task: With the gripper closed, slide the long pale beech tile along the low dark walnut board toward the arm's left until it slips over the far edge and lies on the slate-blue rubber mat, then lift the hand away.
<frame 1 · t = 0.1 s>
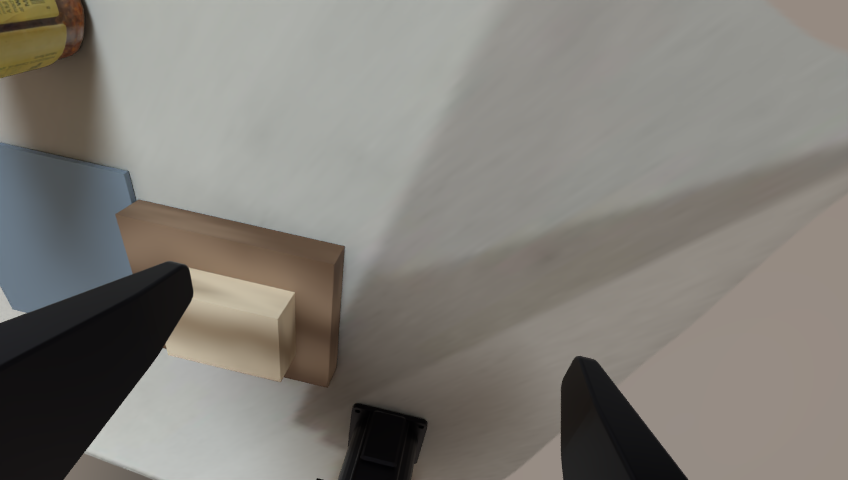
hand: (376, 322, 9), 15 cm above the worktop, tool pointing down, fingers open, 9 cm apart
sauce bottle: (40, 0, 22), on the worktop
beech tile: (229, 324, 28), point 3 cm above the worktop, touching walnut board
walnut board: (247, 291, 30), on the worktop
rubber mat: (64, 248, 31), on the worktop
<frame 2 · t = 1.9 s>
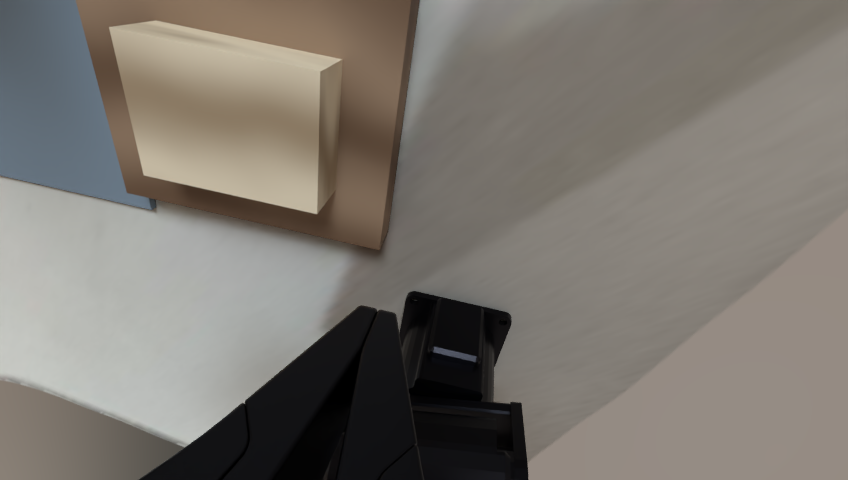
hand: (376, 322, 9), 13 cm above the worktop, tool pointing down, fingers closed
beech tile: (238, 119, 18), point 3 cm above the worktop, touching walnut board
walnut board: (263, 98, 21), on the worktop
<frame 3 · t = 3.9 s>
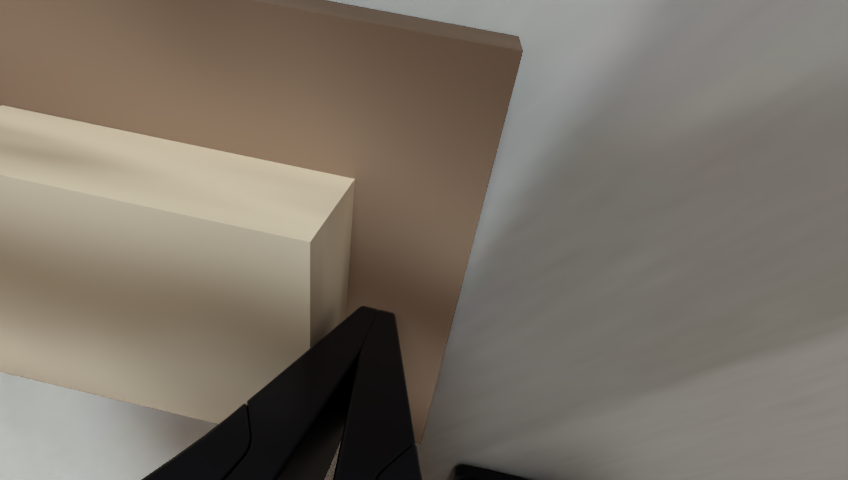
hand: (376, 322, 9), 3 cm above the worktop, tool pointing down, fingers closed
beech tile: (163, 283, 10), point 3 cm above the worktop, touching gripper
walnut board: (229, 213, 12), on the worktop
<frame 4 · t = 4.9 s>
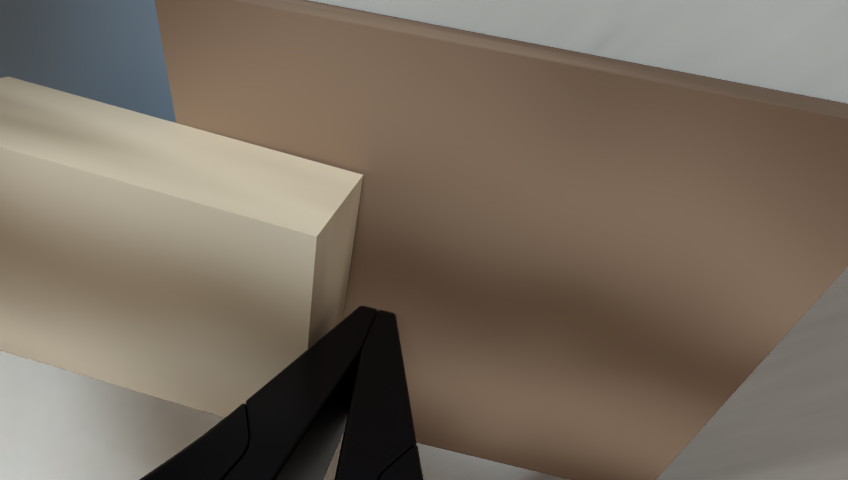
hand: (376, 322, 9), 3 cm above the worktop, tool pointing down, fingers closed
beech tile: (161, 267, 9), point 3 cm above the worktop, touching gripper
walnut board: (470, 266, 12), on the worktop
rubber mat: (15, 166, 13), on the worktop
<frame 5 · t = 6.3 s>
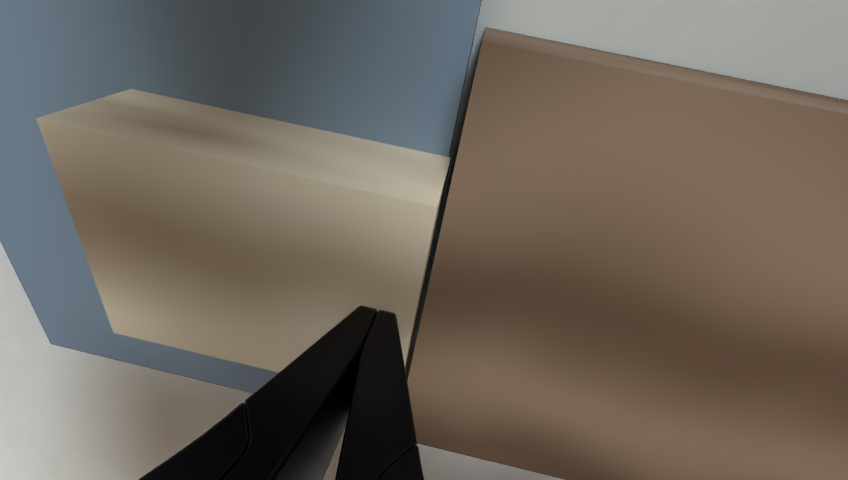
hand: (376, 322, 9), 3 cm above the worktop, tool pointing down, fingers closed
beech tile: (269, 251, 11), point 2 cm above the worktop, touching rubber mat
walnut board: (678, 312, 12), on the worktop
rubber mat: (195, 203, 12), on the worktop
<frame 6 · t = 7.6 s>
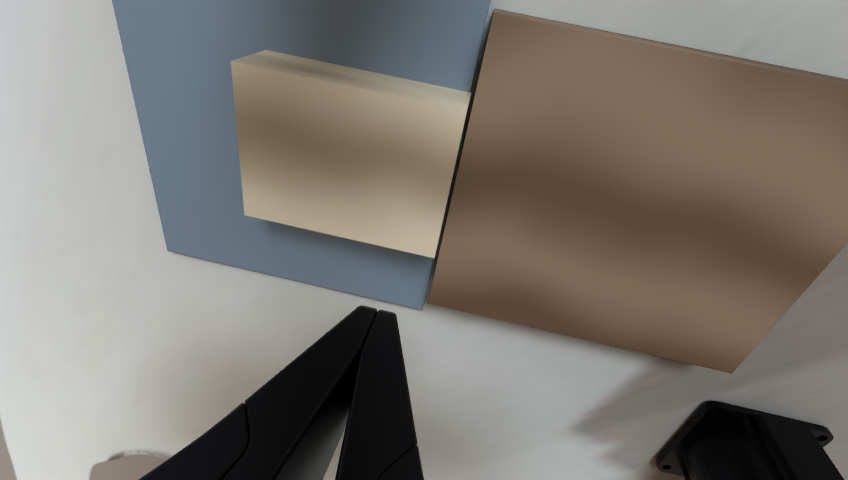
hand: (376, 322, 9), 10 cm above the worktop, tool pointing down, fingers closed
beech tile: (352, 156, 16), point 2 cm above the worktop, touching rubber mat
walnut board: (622, 203, 17), on the worktop
rubber mat: (294, 132, 18), on the worktop
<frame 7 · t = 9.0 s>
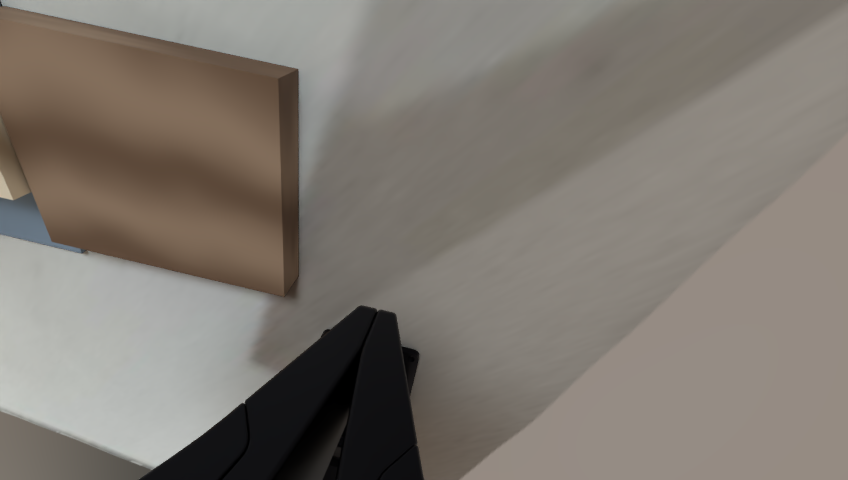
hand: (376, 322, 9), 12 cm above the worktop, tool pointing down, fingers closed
walnut board: (171, 159, 22), on the worktop
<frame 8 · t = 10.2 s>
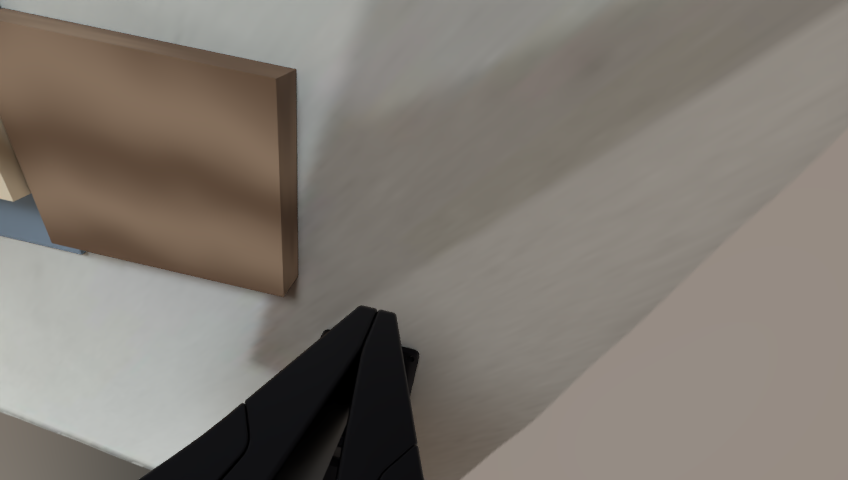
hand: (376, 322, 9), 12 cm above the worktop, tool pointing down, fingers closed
walnut board: (171, 160, 22), on the worktop
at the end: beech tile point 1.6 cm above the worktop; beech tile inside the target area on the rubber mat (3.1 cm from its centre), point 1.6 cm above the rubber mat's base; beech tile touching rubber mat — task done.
